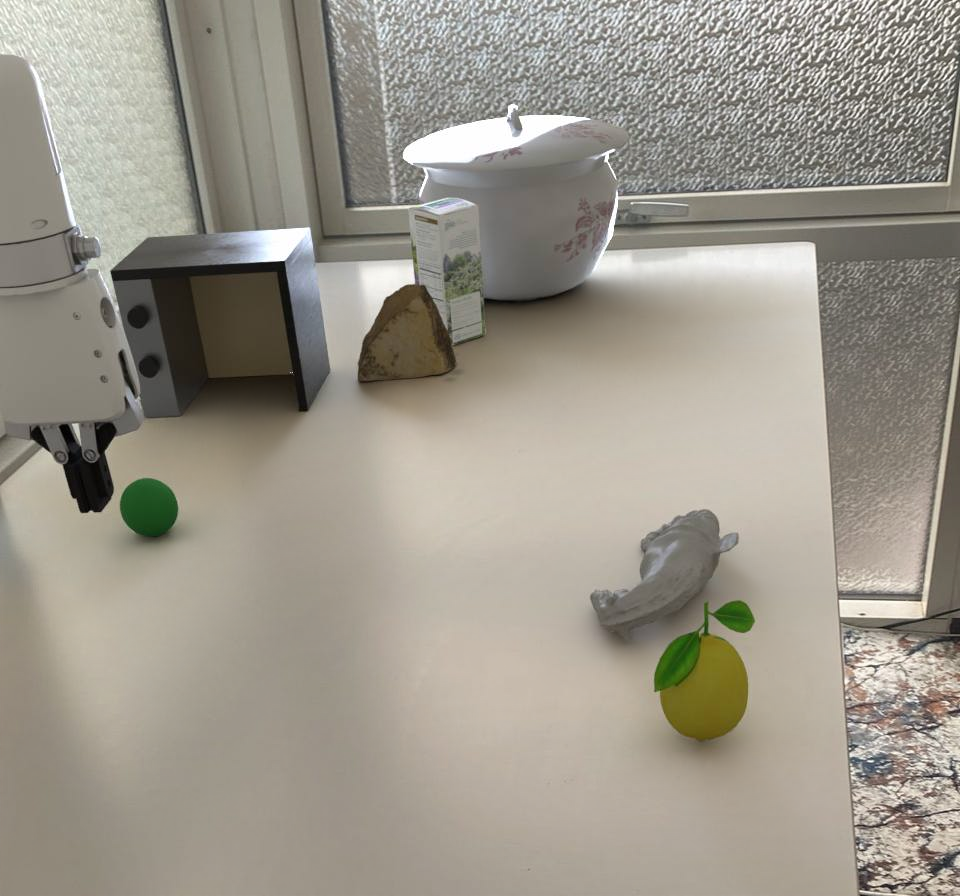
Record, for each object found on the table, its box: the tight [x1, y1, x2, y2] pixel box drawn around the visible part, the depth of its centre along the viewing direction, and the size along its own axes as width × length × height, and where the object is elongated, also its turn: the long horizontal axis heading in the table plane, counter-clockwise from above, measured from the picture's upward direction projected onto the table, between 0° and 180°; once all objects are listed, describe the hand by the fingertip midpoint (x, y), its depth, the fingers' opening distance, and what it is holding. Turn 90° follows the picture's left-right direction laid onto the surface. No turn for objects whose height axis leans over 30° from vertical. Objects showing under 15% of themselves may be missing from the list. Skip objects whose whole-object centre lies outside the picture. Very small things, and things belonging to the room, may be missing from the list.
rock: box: [357, 283, 458, 382], centre depth 146 cm, size 11×9×10 cm
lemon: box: [653, 599, 756, 742], centre depth 83 cm, size 7×6×10 cm
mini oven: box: [109, 227, 331, 419], centre depth 142 cm, size 18×14×15 cm
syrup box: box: [408, 198, 486, 347], centre depth 152 cm, size 6×6×14 cm
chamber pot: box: [402, 103, 630, 302], centre depth 165 cm, size 28×28×21 cm
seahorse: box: [589, 508, 740, 641], centre depth 102 cm, size 5×12×20 cm
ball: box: [119, 477, 179, 538], centre depth 117 cm, size 5×5×5 cm
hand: (96, 505), depth 105 cm, fingers closed
